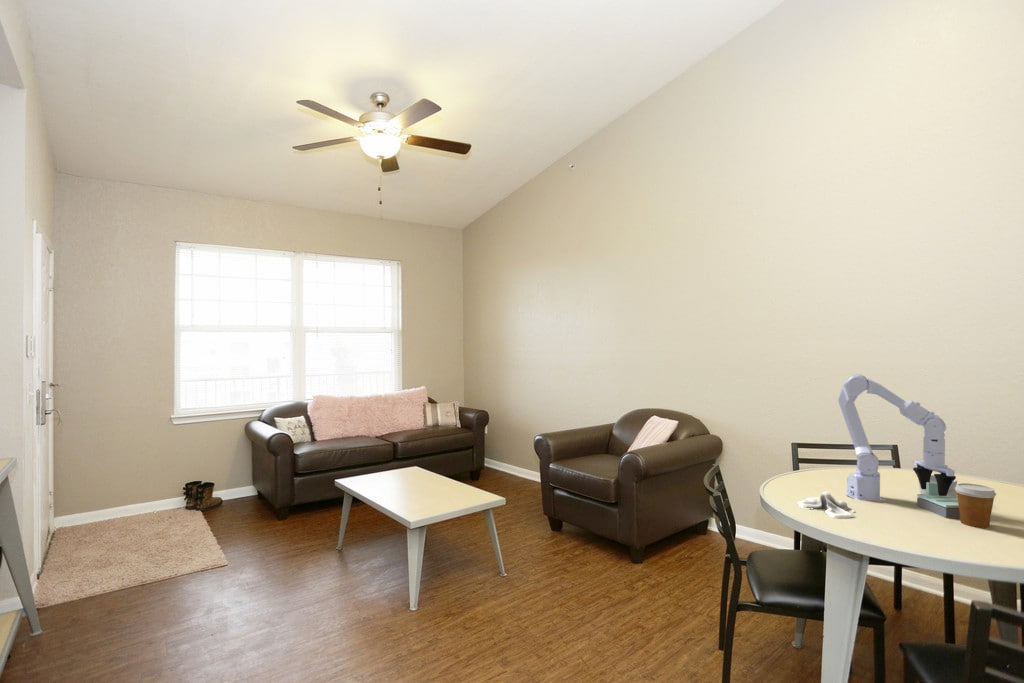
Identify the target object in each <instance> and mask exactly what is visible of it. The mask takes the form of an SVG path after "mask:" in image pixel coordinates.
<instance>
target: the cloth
mask: <svg viewBox="0 0 1024 683" xmlns="http://www.w3.org/2000/svg"><path fill="white" fill-rule="evenodd" d="M806 500H808V501H806ZM796 504H798V505H799V506H798V505H797V506H798V508H799V507H801V508H813V509H812V510H814V509H826V510H824V513H825V515H826V514H827V515H826V516H828V515H829V516H830V517H832V518H831V519H834V518H837V519H851V518H850V517H856V518H857V516H856V515H854V514H853V513H849V512H855V511H856V510H855V509H851V510H849V507H848V503H847V502H846V501H844V500H836V499H835V498H834V496H833V495H832V494H831V493H830V492H829V491H823V492H822V493H821V494H820V496H819V497H807V498H806V499H805V500H800V501H797V503H796ZM844 509H848V510H844ZM854 510H855V511H854ZM848 511H849V512H848ZM855 513H856V512H855ZM829 516H828V517H829ZM830 517H829V518H830Z"/></svg>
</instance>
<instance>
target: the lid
mask: <svg viewBox="0 0 1024 683" xmlns="http://www.w3.org/2000/svg"><path fill="white" fill-rule="evenodd" d="M916 497H920V498H922V499H925V500H928V501H930V502H933V503H935V504H938V505H940V506H943V507H946V508H959V505H958V498H957V497H953V496H950V495H947V496H939V494H938V485H937V482H926V494H921V493H917V495H916Z"/></svg>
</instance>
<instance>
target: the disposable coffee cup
mask: <svg viewBox="0 0 1024 683" xmlns="http://www.w3.org/2000/svg"><path fill="white" fill-rule="evenodd" d="M955 490H956V492H957V498H958V505H959V512H960V518H959V519H960V523H961V524H962V525H965V526H968V527H972V528H977V529H989V527H990V522H991V517H992V513H993V512H992V511H993V506H994V499H995V498H996V496H997V493H996V492H995V489H994V488H992V487H990V486H988V485H987V486H986V485H982V484H976V483H969V482H968V483H967V482H965V483H964V482H960V483H958V482H957V485H956V487H955Z"/></svg>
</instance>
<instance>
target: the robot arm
mask: <svg viewBox="0 0 1024 683" xmlns="http://www.w3.org/2000/svg"><path fill="white" fill-rule="evenodd" d="M865 391H866V394H871V395H876V396H878V397H881V398H882V399H883V400H885V401H887V402H888V403H890V404H892V405H893V406H895V407H897V408H898V410H899V414H900V415H902V416H903V417H905V418H907V419H908V420H910V421H911V422H913V424H914V423H915V424H916V425H917V426H922V427H923V429H924V431H923V432H924V435H923V441H922V442H923V443H922V444H923V445H922V446H923V448H922V450H923V452H922V455H923V456H922V460H921V459H918V460H917V459H916V460H914V466H915V467H913V468H912V469H913V472H914V473H915V474H916V476H917V478H918V484H919V483H920V486H921V489H926V482H930V477H931V475H934V476H935V478H936V481H937V485H938V494H939V496H947V493H948V490H949V488H950V485H951V484H952V482H953V481H954V480H955V479H956V480H957V477H956V475H955V470H954V469H951V468H950V467H948V465H947V464H946V439H945V437H946V436H945V435H946V434H945V432H946V430H947V426H946V423H945V421H944V420H943V418H941V417H940V416H939V415H937V414H935V412H934V411H929V410H928V409H926V408H925V407H923V406H922V405H921V403H920V402H918V401H913V400H905V399H903V398H902V397H901V396H898V395H897V394H895V393H894V392H893V391H891V390H890V389H888V388H887V387H885V386H883V385H882V384H881V383H879V382H877V381H875V380H872V379H871V378H867V376H865V375H864V374H858V373H856V374H853V375H851V376H850V377H849V378H848V379H847V380H845V382H843V385H842V389H841V391H840V393H839V396H838V398H837V399H838V400H837V402H838V405H839V407H840V410H841V413H842V416H843V419H844V421H845V424H846V427H847V431H848V433H849V436H850V439H851V441H852V444H853V447H854V452H855V455H856V458H857V460H856V467H857V469H855V472H853V473H849V474H848V476H847V478H846V481H847V483H846V485H847V486H846V493H845V495H846V496H847V497H850V498H852V499H854V500H855V499H856V500H859V501H883V502H884V501H886V500H887V499H884V498H882V497H881V473H880V472H879V471H878V470H879V465H880V460H879V458H878V456H876V455H875V454H874V452H873V449H872V447H871V446H870V443H869V441H868V437H867V435H866V434H867V433H866V432H865V429H864V426H863V424H862V421H861V418H860V416H859V413H858V410H857V407H856V405H855V401H856V400H857V398H858V397H859V396H860V395H862V394H863V393H864V392H865ZM933 472H936V473H934V474H933Z"/></svg>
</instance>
